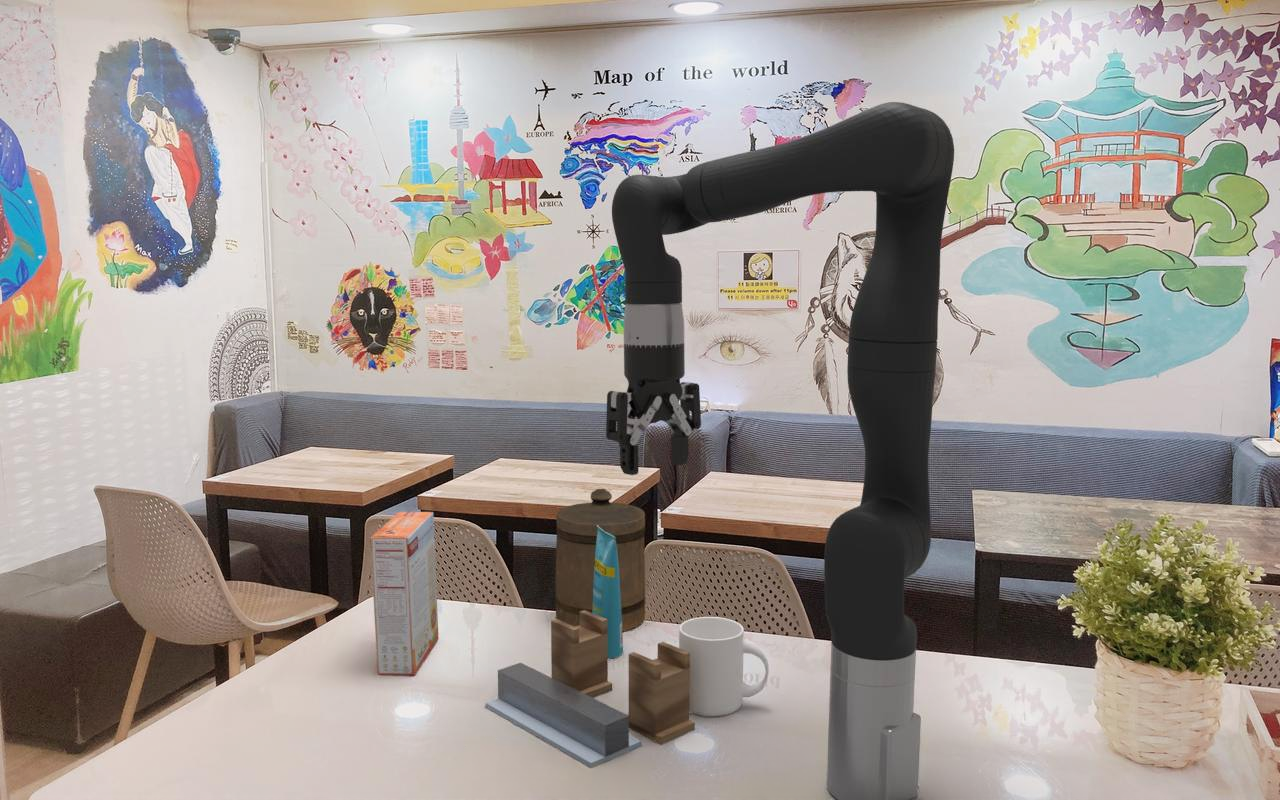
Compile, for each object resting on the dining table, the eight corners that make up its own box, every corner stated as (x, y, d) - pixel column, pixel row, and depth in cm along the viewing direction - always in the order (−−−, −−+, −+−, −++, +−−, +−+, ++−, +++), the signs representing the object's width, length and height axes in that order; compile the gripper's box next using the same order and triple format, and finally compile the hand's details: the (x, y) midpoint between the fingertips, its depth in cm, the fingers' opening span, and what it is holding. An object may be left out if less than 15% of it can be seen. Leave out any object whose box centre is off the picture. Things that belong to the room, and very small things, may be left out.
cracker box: (402, 639, 160) (397, 510, 157) (439, 640, 159) (436, 510, 156) (373, 676, 146) (368, 534, 143) (414, 677, 146) (410, 535, 143)
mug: (765, 723, 131) (767, 644, 130) (673, 715, 134) (674, 637, 132) (769, 695, 140) (771, 620, 138) (683, 688, 142) (684, 614, 141)
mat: (640, 745, 125) (640, 741, 125) (591, 767, 120) (591, 763, 120) (533, 689, 141) (533, 685, 141) (485, 706, 136) (485, 702, 136)
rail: (628, 746, 124) (628, 715, 123) (605, 757, 121) (605, 725, 121) (520, 690, 140) (520, 662, 139) (498, 698, 137) (497, 670, 137)
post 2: (694, 729, 130) (695, 654, 128) (661, 744, 126) (661, 667, 124) (657, 711, 135) (657, 639, 133) (623, 725, 131) (623, 651, 129)
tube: (582, 647, 156) (581, 526, 154) (610, 642, 159) (610, 522, 156) (603, 664, 150) (603, 538, 147) (632, 658, 152) (633, 534, 149)
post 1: (612, 690, 141) (612, 621, 140) (578, 703, 137) (578, 632, 136) (580, 674, 146) (580, 608, 145) (547, 686, 142) (546, 618, 141)
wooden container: (654, 608, 174) (655, 482, 171) (630, 639, 160) (631, 503, 157) (573, 600, 178) (572, 477, 175) (542, 629, 164) (541, 497, 161)
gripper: (632, 345, 118) (634, 482, 120) (715, 338, 128) (715, 465, 130) (590, 342, 123) (593, 473, 126) (673, 335, 133) (674, 457, 135)
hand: (655, 469), depth 128 cm, fingers open, 8 cm apart
